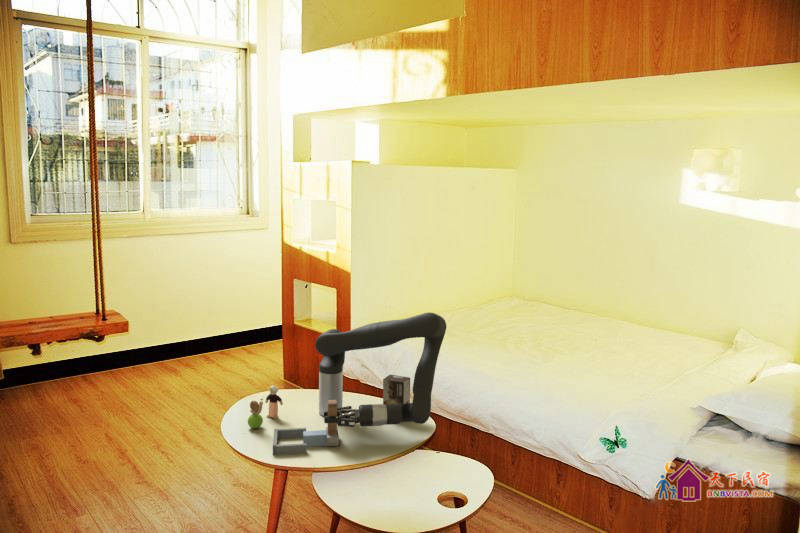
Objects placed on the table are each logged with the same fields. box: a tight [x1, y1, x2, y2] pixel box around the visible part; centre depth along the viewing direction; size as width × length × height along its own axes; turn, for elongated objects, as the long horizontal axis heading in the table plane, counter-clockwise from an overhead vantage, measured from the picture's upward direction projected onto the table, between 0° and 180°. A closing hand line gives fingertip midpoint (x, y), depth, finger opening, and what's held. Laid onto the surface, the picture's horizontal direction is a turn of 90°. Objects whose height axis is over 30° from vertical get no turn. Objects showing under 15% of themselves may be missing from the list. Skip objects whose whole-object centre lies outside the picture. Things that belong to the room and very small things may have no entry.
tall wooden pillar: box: [325, 400, 340, 447], centre depth 215 cm, size 9×4×14 cm, turn 10°
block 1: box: [302, 430, 316, 448], centre depth 214 cm, size 4×4×4 cm
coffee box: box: [382, 374, 411, 405], centre depth 239 cm, size 9×6×16 cm
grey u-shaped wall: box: [272, 427, 308, 456], centre depth 214 cm, size 14×11×3 cm
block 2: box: [314, 429, 328, 447], centre depth 215 cm, size 4×4×4 cm
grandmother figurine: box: [264, 385, 284, 420], centre depth 237 cm, size 8×4×13 cm, turn 81°
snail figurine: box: [247, 398, 264, 429], centre depth 226 cm, size 5×6×12 cm
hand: (324, 417), depth 214 cm, fingers closed on tall wooden pillar, 4 cm apart
